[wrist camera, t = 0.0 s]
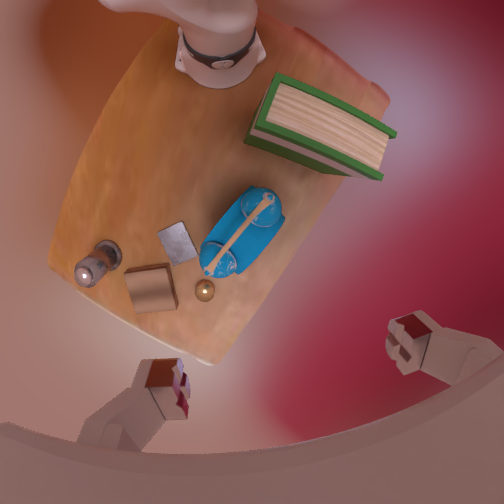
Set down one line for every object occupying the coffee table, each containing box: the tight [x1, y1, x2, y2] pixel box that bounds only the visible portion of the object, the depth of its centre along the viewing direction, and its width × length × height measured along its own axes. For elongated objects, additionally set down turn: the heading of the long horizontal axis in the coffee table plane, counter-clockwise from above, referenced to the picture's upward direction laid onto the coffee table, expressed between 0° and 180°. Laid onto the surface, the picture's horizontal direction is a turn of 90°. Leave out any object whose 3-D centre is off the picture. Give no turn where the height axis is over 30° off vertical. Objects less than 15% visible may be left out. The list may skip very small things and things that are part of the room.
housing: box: [74, 240, 122, 288], centre depth 50 cm, size 7×7×14 cm
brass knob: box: [195, 280, 214, 302], centre depth 59 cm, size 4×4×3 cm
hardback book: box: [244, 72, 397, 181], centre depth 41 cm, size 18×7×24 cm, turn 70°
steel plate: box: [157, 221, 198, 266], centre depth 57 cm, size 8×6×1 cm
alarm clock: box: [199, 185, 285, 278], centre depth 47 cm, size 17×10×20 cm, turn 140°
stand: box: [124, 263, 179, 314], centre depth 58 cm, size 10×10×3 cm
